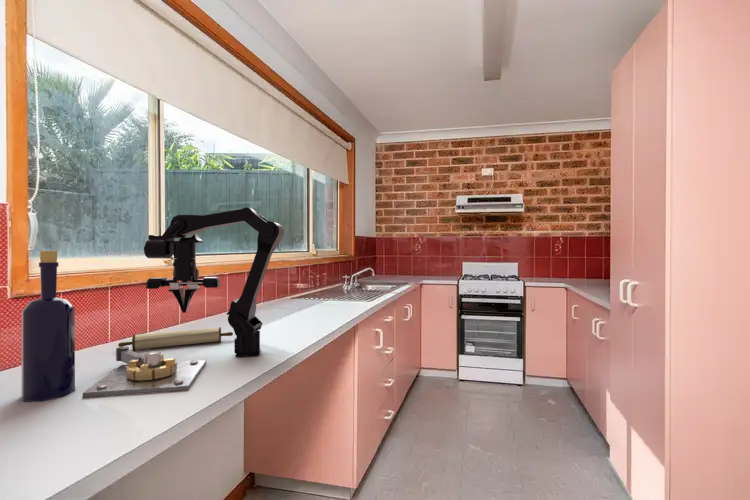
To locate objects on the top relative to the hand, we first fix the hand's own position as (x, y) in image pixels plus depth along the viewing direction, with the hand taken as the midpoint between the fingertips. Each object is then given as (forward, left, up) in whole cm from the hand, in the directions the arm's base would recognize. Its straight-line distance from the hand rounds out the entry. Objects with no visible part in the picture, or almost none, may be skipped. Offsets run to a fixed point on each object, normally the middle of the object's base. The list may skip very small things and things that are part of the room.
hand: (184, 312), depth 115 cm
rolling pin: (+4, -11, -12) cm, 17 cm away
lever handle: (+6, +17, -11) cm, 21 cm away
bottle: (+20, +28, -12) cm, 36 cm away
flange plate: (+2, +22, -12) cm, 25 cm away
